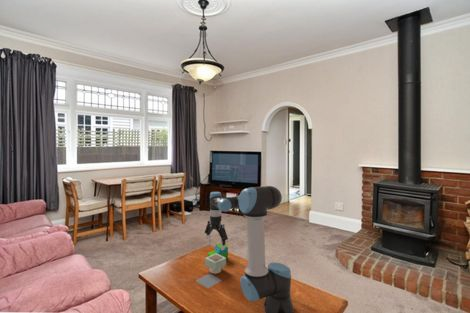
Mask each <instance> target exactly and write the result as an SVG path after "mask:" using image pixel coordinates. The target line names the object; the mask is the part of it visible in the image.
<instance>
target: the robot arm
mask: <svg viewBox="0 0 470 313" xmlns="http://www.w3.org/2000/svg"><path fill="white" fill-rule="evenodd" d="M282 200H283V196H282V193H281V191H280V189H278V188H277V187H275V186H272V185H266V186H254V187H253V186H252V187H251V186H250V187H248V188H247V187H246V188H244V189H242V190H241V192H240V194H239V195H237V196H228V197H227V196H226V197H223V196H222V192H220V191H211V192H210V194H209V215H210V216H209V220H208V221H207V224H206V227H205V229H204V234H206V241H207V246H209V245H211V244H212V234H211V233H212V232H213V230H215V231H216V232H217V233H218V235H219V237H220V244H221V250H224V249H225V245H226V240H228V239H229V238H228V235H227V231H226V228H225V224H224V223H221V222H222V212H225V213H226V212H228V211H230V210H234V209H239V210H240V212H241V213H243V216H244V218H246V240H247V241H246V242H247V243H246V244H247V246H246V247H247V250H246V251H247V266H246V267H245V269H244V275H242V276H241V277H240V279H239V281H240V282H239V283H240V289H241V291H242V293H243V295H244V297H245V298H246V299H247V300H248V301H249V302H255V301H259V300H262V299H264V298H265V300H264V302H263V309H264V312H265V313H294V305H293V301H292V297H291V285H292V284H291V282H292V281H291V280H292V274H291V269H290V267H289V266H288V265H286V264H284V263H281V262H269V263H268V265H267V266H266V246H265V245H266V240H265V239H266V237H265V236H266V235H265V219H266V217H267V216H268V211H269V210H273V209H275V208H277V207H279V206H280V204H281V203H282Z"/></svg>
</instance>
